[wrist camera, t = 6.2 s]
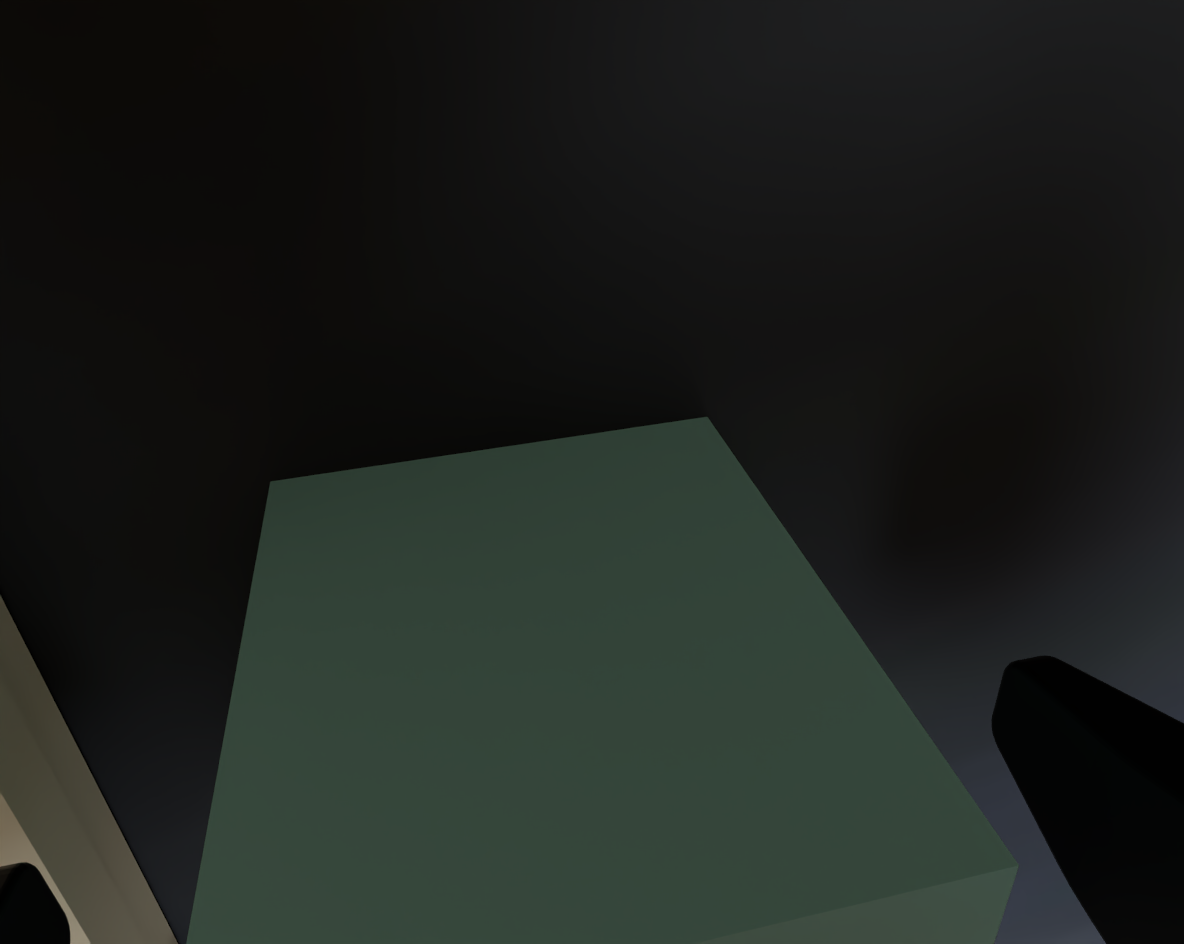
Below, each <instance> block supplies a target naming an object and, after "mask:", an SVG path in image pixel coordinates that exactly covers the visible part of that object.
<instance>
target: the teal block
mask: <svg viewBox="0 0 1184 944" xmlns="http://www.w3.org/2000/svg"><path fill="white" fill-rule="evenodd" d="M1018 867H1019V865H1018V863H1017V862H1016V860H1015V859H1014V858H1013V856H1012V855H1011V853H1010V852H1009V850H1008V849H1007V848H1006V846H1005V845H1004V843H1003V842H1002V840H1001V839H1000V837H999V836H998V835H997V833H996V832H995V830H994V829H993V827H992V826H991V824H990V823H989V822H988V820H987V819H986V817H985V816H984V814H983V813H982V812H981V810H980V809H979V807H978V806H977V804H976V803H975V801H974V800H973V799H972V797H971V796H970V794H969V793H968V791H967V790H966V788H965V787H964V786H963V784H962V783H961V781H960V780H959V778H958V777H957V776H956V774H955V773H954V771H953V770H952V768H951V767H950V765H949V764H948V763H947V761H946V760H945V758H944V757H943V755H942V754H941V752H940V751H939V750H938V748H937V747H936V745H935V744H934V742H933V741H932V740H931V738H930V737H929V735H928V734H927V732H926V731H925V729H924V728H923V727H922V725H921V724H920V722H919V721H918V719H917V718H916V716H915V715H914V714H913V712H912V711H911V709H910V708H909V706H908V705H907V704H906V702H905V701H904V699H903V698H902V696H901V695H900V693H899V692H898V691H897V689H896V688H895V686H894V685H893V683H892V682H891V680H890V679H889V678H888V676H887V675H886V673H885V672H884V670H883V669H882V668H881V666H880V665H879V663H878V662H877V660H876V659H875V657H874V656H873V655H872V653H871V652H870V650H869V649H868V647H867V646H866V644H865V643H864V642H863V640H862V639H861V637H860V636H859V634H858V633H857V632H856V630H855V629H854V627H853V626H852V624H851V623H850V621H849V620H848V619H847V617H846V616H845V614H844V613H843V611H842V610H841V608H840V607H839V606H838V604H837V603H836V601H835V600H834V598H833V597H832V596H831V594H830V593H829V591H828V590H827V588H826V587H825V585H824V584H823V583H822V581H821V580H820V578H819V577H818V575H817V574H816V572H815V571H814V570H813V568H812V567H811V565H810V564H809V562H808V561H807V560H806V558H805V557H804V555H803V554H802V552H801V551H800V549H799V548H798V547H797V545H796V544H795V542H794V541H793V539H792V538H791V536H790V535H789V534H788V532H787V531H786V529H785V528H784V526H783V525H782V524H781V522H780V521H779V519H778V518H777V516H776V515H775V513H774V512H773V511H772V509H771V508H770V506H769V505H768V503H767V502H766V500H765V499H764V498H763V496H762V495H761V493H760V492H759V490H758V489H757V488H756V486H755V485H754V483H753V482H752V480H751V479H750V477H749V476H748V475H747V473H746V472H745V470H744V469H743V467H742V466H741V465H740V463H739V462H738V460H737V459H736V457H735V456H734V454H733V453H732V452H731V450H730V449H729V447H728V446H727V444H726V443H725V441H724V440H723V439H722V437H721V436H720V434H719V433H718V431H717V430H716V429H715V427H714V426H713V424H712V423H711V421H710V420H709V418H708V417H702V418H695V419H688V420H681V421H675V422H668V423H661V424H654V425H648V426H641V427H634V428H627V429H621V430H614V431H607V432H601V433H594V434H587V435H580V436H574V437H567V438H560V439H553V440H547V441H540V442H533V443H526V444H520V445H513V446H506V447H500V448H493V449H486V450H479V451H473V452H466V453H459V454H452V455H446V456H439V457H432V458H425V459H419V460H412V461H405V462H399V463H392V464H385V465H378V466H372V467H365V468H358V469H351V470H345V471H338V472H331V473H324V474H318V475H311V476H304V477H297V478H291V479H284V480H277V481H271V482H270V486H269V491H268V497H267V502H266V508H265V513H264V519H263V524H262V530H261V535H260V541H259V546H258V552H257V557H256V563H255V568H254V574H253V579H252V585H251V590H250V596H249V601H248V607H247V612H246V618H245V623H244V629H243V634H242V640H241V645H240V651H239V656H238V662H237V667H236V673H235V678H234V684H233V689H232V695H231V700H230V706H229V711H228V717H227V722H226V728H225V733H224V739H223V745H222V750H221V756H220V761H219V767H218V772H217V778H216V783H215V789H214V794H213V800H212V805H211V811H210V816H209V822H208V827H207V833H206V838H205V844H204V849H203V855H202V860H201V866H200V871H199V877H198V882H197V888H196V893H195V899H194V904H193V910H192V915H191V921H190V926H189V932H188V937H187V943H186V944H994V942H995V938H996V935H997V932H998V929H999V926H1000V923H1001V920H1002V917H1003V914H1004V910H1005V907H1006V904H1007V901H1008V898H1009V895H1010V892H1011V889H1012V886H1013V882H1014V879H1015V876H1016V873H1017V870H1018Z"/></svg>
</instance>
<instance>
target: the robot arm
mask: <svg viewBox="0 0 1184 944" xmlns="http://www.w3.org/2000/svg"><path fill="white" fill-rule="evenodd" d="M992 731H993V736H994V739H995V742H996V744H997V746H998V748H999V750H1000V752H1001V754H1002V756H1003V758H1004V760H1005V762H1006V764H1007V766H1008V768H1009V770H1010V772H1011V774H1012V776H1013V778H1014V780H1015V782H1016V784H1017V785H1018V787H1019V789H1020V791H1021V793H1022V795H1023V797H1024V799H1025V801H1026V803H1027V805H1028V807H1029V809H1030V811H1031V813H1032V815H1033V817H1034V819H1035V821H1036V823H1037V824H1038V826H1039V828H1040V830H1041V832H1042V834H1043V836H1044V838H1045V840H1046V842H1047V844H1048V846H1049V848H1050V850H1051V852H1052V854H1053V856H1054V858H1055V860H1056V862H1057V863H1058V865H1059V867H1060V869H1061V871H1062V873H1063V874H1064V876H1065V878H1066V880H1067V882H1068V883H1069V885H1070V887H1071V889H1072V890H1073V892H1074V894H1075V895H1076V897H1077V898H1078V900H1079V902H1080V903H1081V905H1082V907H1083V908H1084V910H1085V912H1086V913H1087V915H1088V916H1089V918H1090V919H1091V921H1092V922H1093V924H1094V926H1095V927H1096V929H1097V930H1098V932H1099V933H1100V935H1101V936H1102V938H1103V940H1104V941H1105V943H1106V944H1184V723H1182V722H1180V721H1178V720H1176V719H1174V718H1172V717H1170V716H1168V715H1167V714H1165V713H1163V712H1161V711H1159V710H1157V709H1155V708H1153V707H1151V706H1149V705H1147V704H1145V703H1143V702H1141V701H1139V700H1137V699H1135V698H1133V697H1131V696H1130V695H1128V694H1126V693H1124V692H1122V691H1120V690H1118V689H1116V688H1114V687H1112V686H1110V685H1108V684H1106V683H1104V682H1102V681H1100V680H1098V679H1096V678H1095V677H1093V676H1091V675H1089V674H1087V673H1085V672H1083V671H1081V670H1079V669H1077V668H1075V667H1073V666H1071V665H1069V664H1067V663H1065V662H1063V661H1061V660H1059V659H1057V658H1055V657H1051V656H1037V657H1032V658H1027V659H1022V660H1017V661H1014V662H1011V663H1010V664H1009V665H1008V666H1007V667H1006V668H1005V670H1004V673H1003V676H1002V680H1001V684H1000V688H999V692H998V696H997V700H996V703H995V707H994V711H993V715H992ZM0 944H70V926H69V922H68V919H67V916H66V914H65V912H64V911H63V909H62V907H61V906H60V904H59V903H58V901H57V899H56V898H55V896H54V894H53V893H52V891H51V889H50V888H49V886H48V884H47V883H46V881H45V880H44V878H43V876H42V875H41V873H40V871H39V870H38V869H37V868H36V866H34V865H32V864H30V863H28V862H20V863H15V864H10V865H6V866H1V867H0Z"/></svg>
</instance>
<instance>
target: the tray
mask: <svg viewBox="0 0 1184 944" xmlns="http://www.w3.org/2000/svg"><path fill="white" fill-rule="evenodd" d="M20 862H28V863H30V864H32V865H34V866H36V868H37V869H38V870H39V871H40V873H41V875H42V876H43V878H44V880H45V881H46V883H47V884H48V886H49V888H50V889H51V891H52V893H53V894H54V896H55V898H56V899H57V901H58V903H59V904H60V906H61V907H62V909H63V911H64V912H65V914H66V916H67V919H68V922H69V926H70V944H178V943H177V941H176V939H175V937H174V935H173V933H172V931H171V929H170V927H169V925H168V923H167V921H166V919H165V917H164V915H163V913H162V911H161V909H160V907H159V905H158V903H157V901H156V899H155V897H154V896H153V894H152V892H151V890H150V888H149V886H148V884H147V882H146V880H145V878H144V876H143V874H142V872H141V870H140V868H139V866H138V864H137V862H136V860H135V858H134V856H133V854H132V852H131V850H130V848H129V846H128V845H127V843H126V841H125V839H124V837H123V835H122V833H121V831H120V829H119V827H118V825H117V823H116V821H115V819H114V817H113V815H112V813H111V811H110V809H109V807H108V805H107V803H106V801H105V799H104V797H103V796H102V794H101V792H100V790H99V788H98V786H97V784H96V782H95V780H94V778H93V776H92V774H91V772H90V770H89V768H88V766H87V764H86V762H85V760H84V758H83V756H82V754H81V752H80V750H79V748H78V746H77V745H76V743H75V741H74V739H73V737H72V735H71V733H70V731H69V729H68V727H67V725H66V723H65V721H64V719H63V717H62V715H61V713H60V711H59V709H58V707H57V705H56V703H55V701H54V699H53V697H52V696H51V694H50V692H49V690H48V688H47V686H46V684H45V682H44V680H43V678H42V676H41V674H40V672H39V670H38V668H37V666H36V664H35V662H34V660H33V658H32V656H31V654H30V652H29V650H28V648H27V646H26V645H25V643H24V641H23V639H22V637H21V635H20V633H19V631H18V629H17V627H16V625H15V623H14V621H13V619H12V617H11V615H10V613H9V611H8V609H7V607H6V605H5V603H4V601H3V599H2V597H1V596H0V867H1V866H6V865H10V864H15V863H20Z"/></svg>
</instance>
